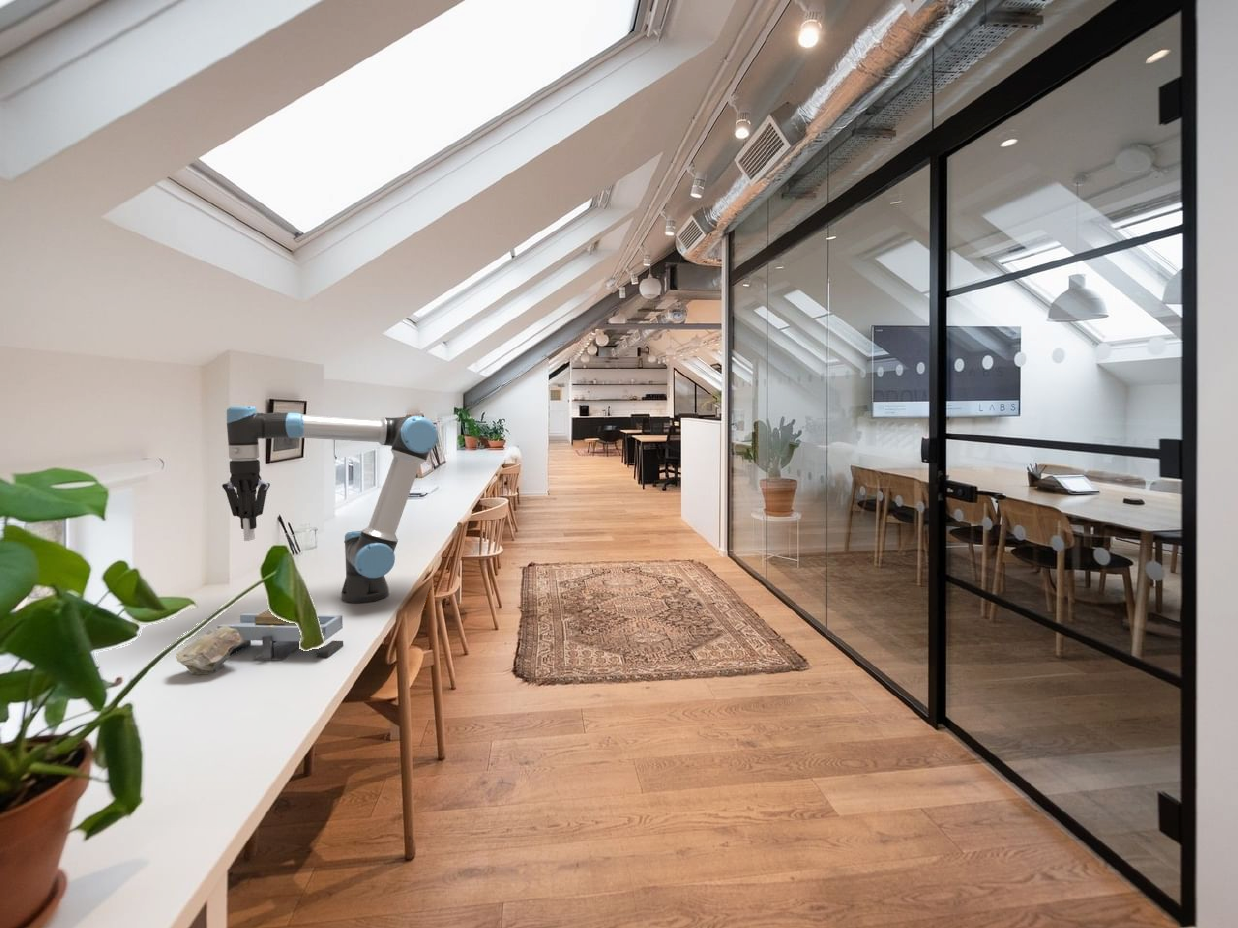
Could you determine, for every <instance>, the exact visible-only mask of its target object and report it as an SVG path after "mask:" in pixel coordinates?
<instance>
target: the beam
mask: <svg viewBox="0 0 1238 928" xmlns="http://www.w3.org/2000/svg"><path fill="white" fill-rule="evenodd" d="M259 614H260V613H241V614H240V615H239V618H240V619H239V620H240V621H239V622H237V623H236V624H219V625H217V629H219V628H221V627H222V626H228V627H230V628H233V629H236V630H237V631H238V633H239V635H240V636H241V638H242V639H243V640H251V641H262V637H263V636H272V641H300V638H301V635H300V632H299V629H298V627H297V625H296V626H274V625H271V626H270V625H255V616H257V615H259ZM317 615H318V618H319V621H320V625H321V629H322V633H323V636H324V642H325V641H327V640H328V639H330V638H331V637H332V636H334V635H335V634H337V633H338V632H339V631H341V630H342V629H343V624H344V623H343V615H342V614H339V615H337V614H317Z"/></svg>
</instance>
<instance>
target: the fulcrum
mask: <svg viewBox="0 0 1238 928" xmlns="http://www.w3.org/2000/svg"><path fill="white" fill-rule="evenodd" d="M251 645H252V640H243V642H242V643H241V644H239V645H238V646H235V647H234V648H233V650H232V651H231V653H230V655H229V657H232V656H234V655H236V654H237V653H239V652H240V651H242V650H244V649H245V648H247V647H249V646H251ZM343 647H344V640H331V641H329V643H327V644H326V645H324V646H323V647H321V648H320V649H319V650H318V651H316V658H317V659H318V658H320V659H328V658H330V657H331V656H333V655H334V654H335V653H336V652H338V651H339V650H341V648H343ZM297 651H299V641H272V636H263V637H262V653H261V654H259V655H258V656H256V657H254V661H258V662H259V661H263V662H282V661H283V660H285V659H287V658H288V657H289V656H291V655H293V654H294V653H295V652H297Z"/></svg>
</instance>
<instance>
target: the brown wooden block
mask: <svg viewBox="0 0 1238 928" xmlns="http://www.w3.org/2000/svg"><path fill="white" fill-rule="evenodd" d="M258 614H259V615H257V616H255V625H270V626H271V625H274V626H296V624H295V623H289V622H286V621H283V620H281V619H278V618H277V617H275V616H274V615H272V614H271V612H270V611H269V609H267V610H265V611H263V612H262V613H258Z"/></svg>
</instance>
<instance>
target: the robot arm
mask: <svg viewBox="0 0 1238 928" xmlns="http://www.w3.org/2000/svg"><path fill="white" fill-rule="evenodd" d="M226 430H227V431H226V432H227V441H228V456H229V457H228V458H229V459H230V461H229V473H230V475H231V476H230V478H229V481H227V482H226V483H223V484H221V487H222V488H223V490H224V491H225V493H226V497H227V500H228V503H229V506H230V509H231V513H232V516H233V517H238V518H239V521H240V528H241V530H243V541H244V542H250V541H253V540H256V538H255V537H256V535H255V529H257V517H259V516H261V515H263V513H264V509H265V502H266V497H267V492H268V490H269V489H270V485H271V483H269V482H265V481H264V480H262V476H261V475H260V473H261V462H260V460H259V458H260V444H259V439H294V438H296V439H297V438H300V439H319V440H334V441H335V440H336V441H350V442H351V441H353V442H354V441H355V442H367V443H368V442H372V443H379V445H381V446H389V447H391V449H390V451H391V454H392V456H393V457H392V460H391V463H390V466H389V469H388V471H387V474H386V477H385V480H384V483H383V486H382V488H381V491H380V494H379V496H378V499H377V502H376V505H375V507H374V510H373V513H372V516H371V518H370V521H369V524H368V526H367V527H365V528H363V529H362V530H356V531H349V532H347V533H346V534H345V535H344V540H343V541H344V542H343V543H344V545H345V546H344V552H345V574H346V575H345V576H346V577H345V580H344V583H343V587H342V590H341V593H340V595H341V596H340V597H341V600H342V602H346V603H350V604H351V603H352V604H360V603H361V604H362V603H370V602H372V603H373V602H375V601H379V600H382V599H385V598H387V597H388V596H389V594H390V590H389V588H390V587H389V586H388V583H387V580H386V577H385V575H387V574H388V573H389V572H390V571H391V570H392V569H393V567H394V565H395V562H396V561H395V560H396V557H395V556H396V555H395V550H396V548H397V544H398V542H399V539H398V538H397V535H396V534H397V531H398V527H399V524H400V522H401V519H402V516H403V514H404V510H405V508H406V505H407V501H408V499H409V498H410V497H409V496H410V494H411V490H412V488H413V484H414V482H415V479H416V477H417V474H418V471H419V468H420V466H421V465H422V464H424V463H426V462H427V459H428V457H429V455H430V451H432V450H433V449H434V448H435V447H436V445H437V443H438V441H439V439H438V438H439V432H438V429H437V427H436V425H435V424H434V423H433V421H431V420H430V419H428V418H427V417H424V416H420V415H414V416H413V415H410V416H409V415H408V416H398V417H385V416H384V417H381V418H380V419H370V418H359V417H357V418H356V417H345V416H328V415H326V416H325V415H315V414H301V413H300V412H290V411H289V412H279V411H276V412H267V413H266V412H265V413H264V412H258V410H257V407H256V406H253V405H251V406H249V405H248V406H245V405H241V406H237V405H235V406H229V407H228V408H227V409H226ZM257 489H258V490H257ZM386 596H387V597H386Z"/></svg>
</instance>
